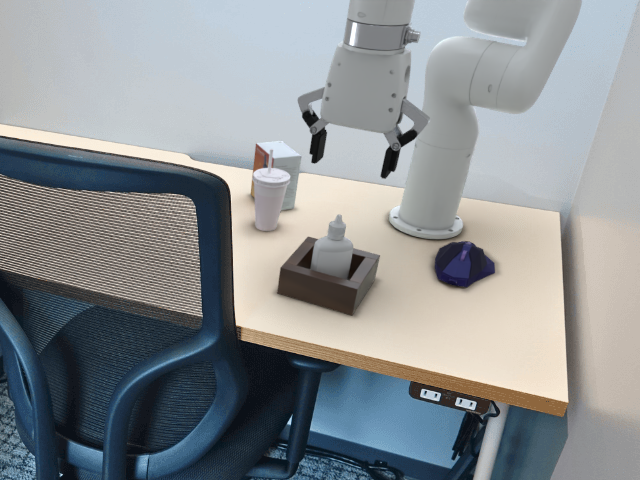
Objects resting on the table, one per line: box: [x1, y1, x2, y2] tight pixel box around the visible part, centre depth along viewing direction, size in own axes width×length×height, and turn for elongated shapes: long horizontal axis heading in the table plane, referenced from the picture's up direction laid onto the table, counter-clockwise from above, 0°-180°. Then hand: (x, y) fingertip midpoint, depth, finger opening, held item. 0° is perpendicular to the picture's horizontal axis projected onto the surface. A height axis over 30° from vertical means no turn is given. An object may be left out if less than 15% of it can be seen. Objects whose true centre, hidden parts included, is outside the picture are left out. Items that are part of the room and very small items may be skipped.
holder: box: [276, 236, 381, 317], centre depth 105 cm, size 12×12×4 cm
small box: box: [250, 140, 302, 211], centre depth 128 cm, size 8×6×10 cm
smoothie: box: [251, 149, 290, 232], centre depth 119 cm, size 6×6×14 cm
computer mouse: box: [434, 240, 496, 288], centre depth 110 cm, size 9×15×4 cm, turn 149°
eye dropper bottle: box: [310, 213, 354, 280], centre depth 103 cm, size 4×6×12 cm
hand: (350, 167), depth 95 cm, fingers open, 9 cm apart
